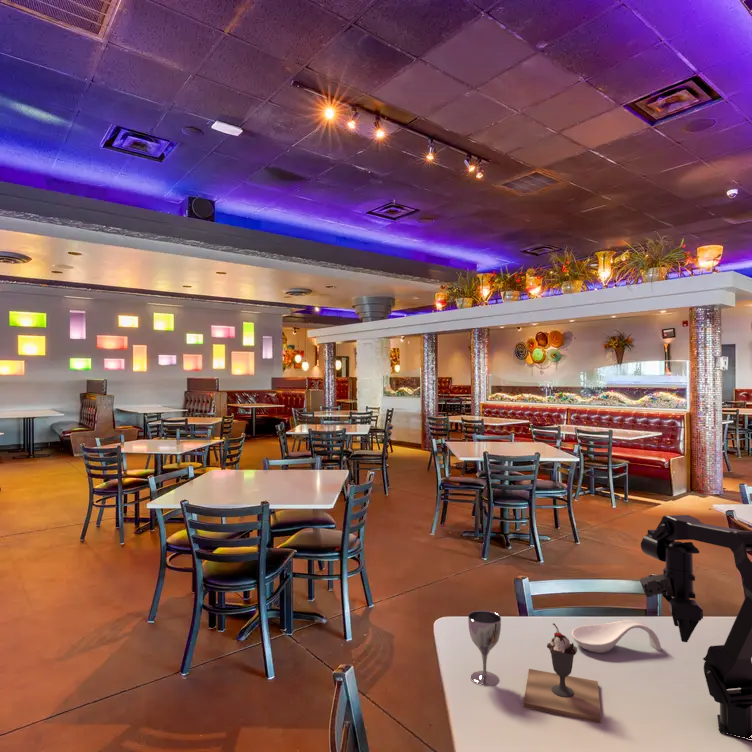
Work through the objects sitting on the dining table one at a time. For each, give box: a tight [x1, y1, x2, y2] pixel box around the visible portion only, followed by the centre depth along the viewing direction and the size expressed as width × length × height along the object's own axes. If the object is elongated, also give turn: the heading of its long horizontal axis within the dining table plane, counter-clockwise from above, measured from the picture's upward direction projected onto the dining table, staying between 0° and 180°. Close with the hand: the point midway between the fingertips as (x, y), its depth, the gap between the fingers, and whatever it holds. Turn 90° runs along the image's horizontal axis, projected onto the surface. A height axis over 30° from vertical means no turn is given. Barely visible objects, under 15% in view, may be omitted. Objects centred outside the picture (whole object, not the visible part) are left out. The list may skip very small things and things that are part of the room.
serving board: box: [522, 668, 602, 724], centre depth 122 cm, size 16×16×1 cm
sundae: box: [546, 622, 578, 697], centre depth 122 cm, size 7×7×15 cm
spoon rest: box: [571, 619, 662, 654], centre depth 146 cm, size 24×12×7 cm, turn 92°
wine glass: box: [467, 609, 502, 687], centre depth 130 cm, size 8×8×15 cm
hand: (680, 633), depth 126 cm, fingers open, 9 cm apart
